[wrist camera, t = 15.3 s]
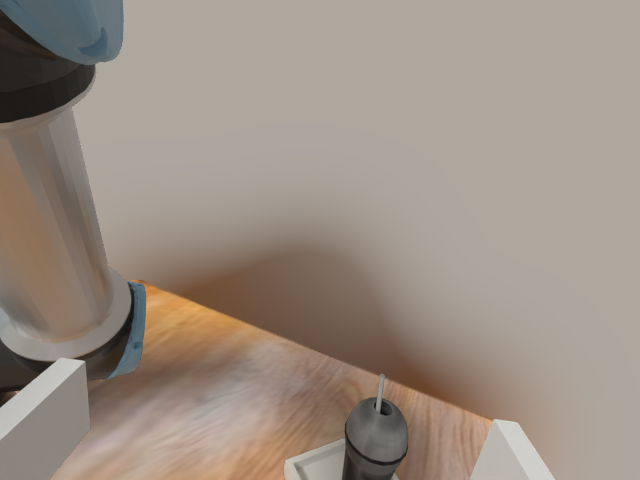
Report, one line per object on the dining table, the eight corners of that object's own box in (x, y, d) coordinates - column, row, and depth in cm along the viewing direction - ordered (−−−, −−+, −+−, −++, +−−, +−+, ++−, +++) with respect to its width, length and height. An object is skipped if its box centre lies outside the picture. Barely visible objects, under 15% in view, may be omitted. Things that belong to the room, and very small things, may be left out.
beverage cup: (397, 529, 39) (441, 395, 33) (342, 547, 37) (379, 405, 31) (369, 470, 46) (402, 349, 40) (320, 482, 43) (347, 355, 37)
